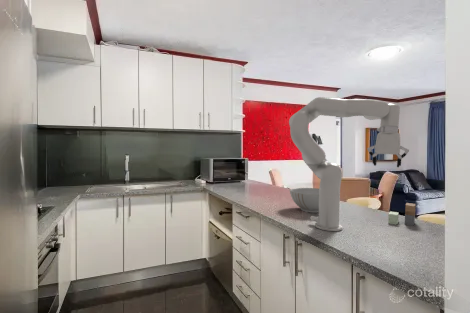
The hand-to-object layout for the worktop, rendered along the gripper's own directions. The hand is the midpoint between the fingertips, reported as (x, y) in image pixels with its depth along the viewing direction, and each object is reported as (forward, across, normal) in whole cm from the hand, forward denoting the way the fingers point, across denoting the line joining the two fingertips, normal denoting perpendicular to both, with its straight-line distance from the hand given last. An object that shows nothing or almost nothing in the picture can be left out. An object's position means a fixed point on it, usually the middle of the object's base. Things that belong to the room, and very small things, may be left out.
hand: (386, 166), depth 126 cm
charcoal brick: (+30, +11, +21) cm, 38 cm away
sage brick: (+30, +4, +18) cm, 35 cm away
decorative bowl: (+32, -40, +17) cm, 54 cm away
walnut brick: (+25, +11, +21) cm, 34 cm away
